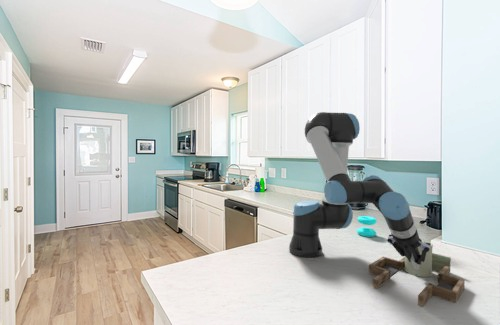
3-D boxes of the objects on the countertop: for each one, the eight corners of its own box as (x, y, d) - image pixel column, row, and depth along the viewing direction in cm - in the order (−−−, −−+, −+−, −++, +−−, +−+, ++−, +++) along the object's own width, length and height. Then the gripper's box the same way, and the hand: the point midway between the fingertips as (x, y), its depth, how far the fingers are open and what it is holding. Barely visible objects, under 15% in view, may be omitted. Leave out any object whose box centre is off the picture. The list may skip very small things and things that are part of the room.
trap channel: (447, 316, 71) (448, 295, 71) (356, 280, 91) (356, 264, 91) (470, 278, 94) (471, 262, 94) (393, 256, 114) (393, 243, 114)
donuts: (366, 220, 140) (353, 216, 150) (366, 238, 140) (353, 233, 150) (380, 219, 143) (367, 215, 153) (380, 236, 144) (366, 231, 153)
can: (438, 277, 95) (438, 245, 94) (412, 276, 95) (413, 244, 95) (422, 266, 104) (423, 237, 104) (399, 266, 104) (399, 237, 104)
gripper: (378, 234, 86) (395, 269, 98) (423, 244, 77) (436, 282, 88) (385, 216, 90) (400, 252, 101) (429, 224, 80) (440, 262, 92)
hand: (417, 266), depth 95 cm, fingers closed
